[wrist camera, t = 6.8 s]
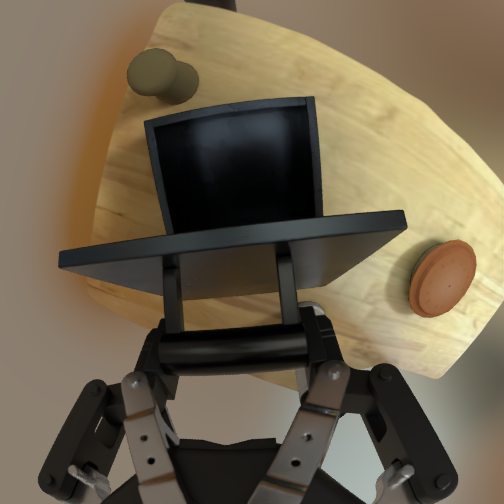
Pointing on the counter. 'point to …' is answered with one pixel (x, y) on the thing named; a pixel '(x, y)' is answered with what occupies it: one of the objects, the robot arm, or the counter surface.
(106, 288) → the counter surface
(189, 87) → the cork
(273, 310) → the counter surface
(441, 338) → the counter surface
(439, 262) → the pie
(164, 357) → the lid
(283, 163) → the black open box
